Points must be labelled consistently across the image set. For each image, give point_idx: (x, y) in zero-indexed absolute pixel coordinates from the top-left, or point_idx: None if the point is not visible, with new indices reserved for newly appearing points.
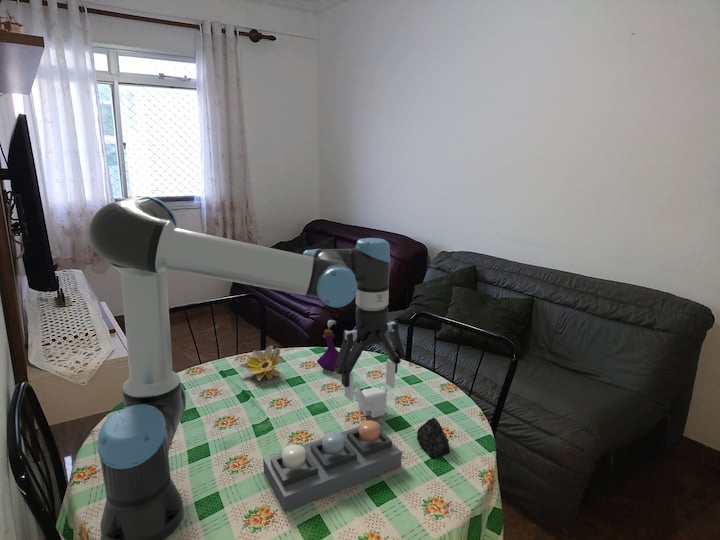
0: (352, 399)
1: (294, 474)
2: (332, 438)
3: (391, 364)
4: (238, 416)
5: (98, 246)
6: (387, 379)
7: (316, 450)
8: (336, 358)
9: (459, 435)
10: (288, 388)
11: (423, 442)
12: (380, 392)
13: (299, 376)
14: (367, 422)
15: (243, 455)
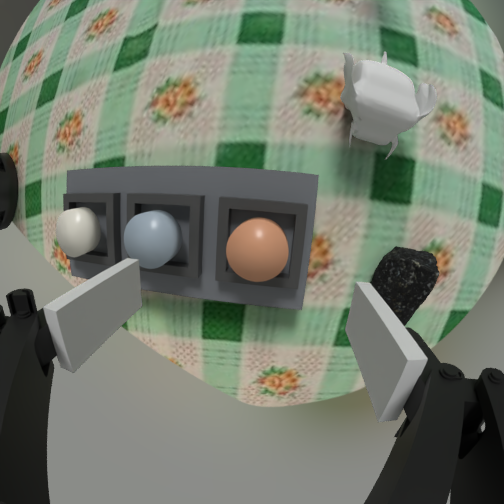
0: (139, 306)
1: (81, 256)
2: (145, 239)
3: (381, 403)
4: (121, 12)
5: None
6: (360, 306)
7: (129, 217)
8: None
9: (446, 287)
10: None
11: (378, 284)
12: (405, 111)
13: None
14: (264, 231)
15: (79, 114)
